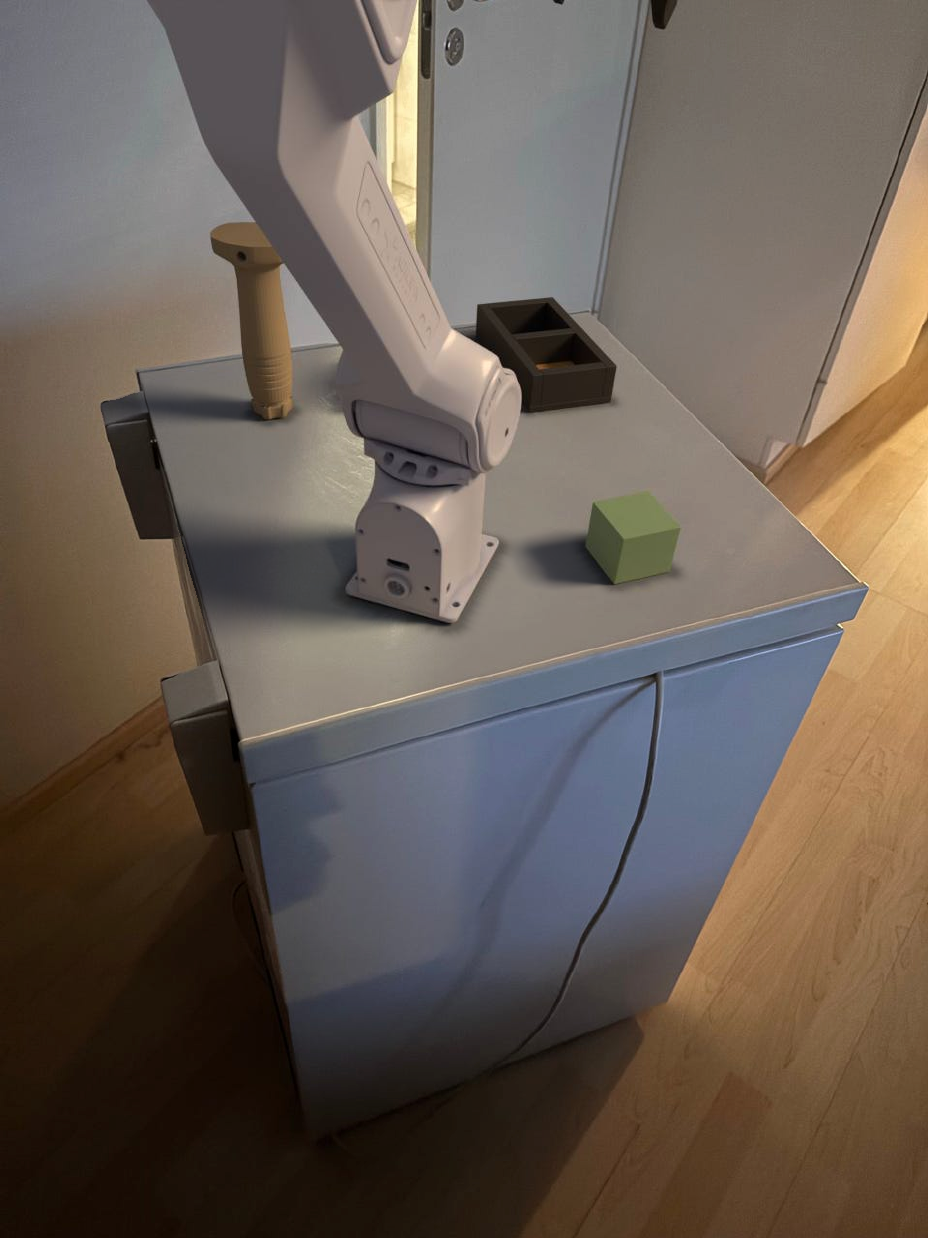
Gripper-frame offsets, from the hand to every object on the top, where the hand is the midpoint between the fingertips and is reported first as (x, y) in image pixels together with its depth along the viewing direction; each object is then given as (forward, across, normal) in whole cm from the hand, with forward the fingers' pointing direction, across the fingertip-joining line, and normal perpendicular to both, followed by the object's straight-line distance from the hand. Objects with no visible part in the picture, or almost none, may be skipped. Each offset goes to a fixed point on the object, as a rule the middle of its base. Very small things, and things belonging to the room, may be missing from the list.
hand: (614, 2), depth 61 cm
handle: (+10, +18, +34) cm, 40 cm away
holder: (+24, +2, +19) cm, 30 cm away
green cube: (+7, -16, +34) cm, 38 cm away
